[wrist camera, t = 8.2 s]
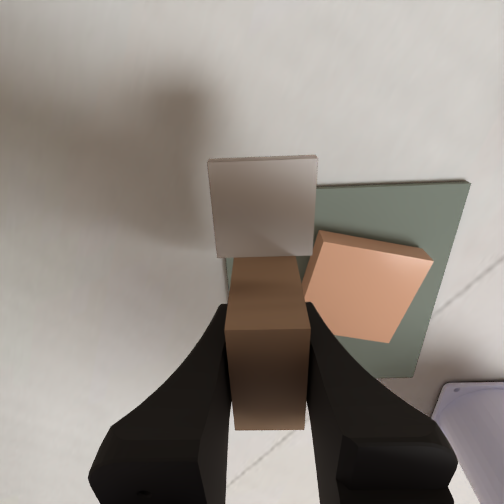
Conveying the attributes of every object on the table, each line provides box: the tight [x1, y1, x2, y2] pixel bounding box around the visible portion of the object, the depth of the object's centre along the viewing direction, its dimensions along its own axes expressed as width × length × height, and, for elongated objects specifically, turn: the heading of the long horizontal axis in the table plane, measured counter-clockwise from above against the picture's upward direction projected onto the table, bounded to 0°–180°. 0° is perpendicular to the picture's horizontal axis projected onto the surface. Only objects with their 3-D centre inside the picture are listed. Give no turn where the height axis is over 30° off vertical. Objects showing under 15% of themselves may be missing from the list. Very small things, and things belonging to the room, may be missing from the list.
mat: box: [226, 181, 471, 378], centre depth 24 cm, size 15×17×1 cm
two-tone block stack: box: [207, 155, 318, 430], centre depth 12 cm, size 9×4×5 cm, turn 2°
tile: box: [302, 230, 434, 343], centre depth 22 cm, size 7×2×7 cm
